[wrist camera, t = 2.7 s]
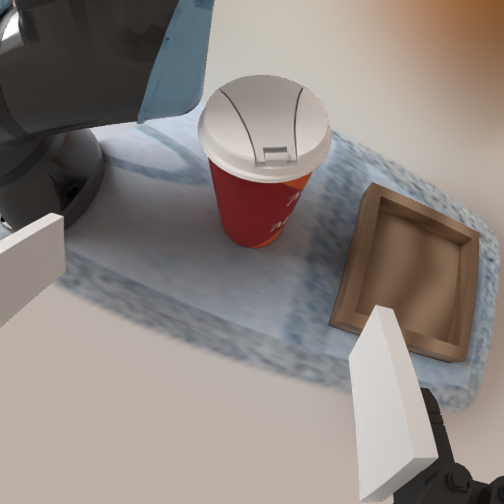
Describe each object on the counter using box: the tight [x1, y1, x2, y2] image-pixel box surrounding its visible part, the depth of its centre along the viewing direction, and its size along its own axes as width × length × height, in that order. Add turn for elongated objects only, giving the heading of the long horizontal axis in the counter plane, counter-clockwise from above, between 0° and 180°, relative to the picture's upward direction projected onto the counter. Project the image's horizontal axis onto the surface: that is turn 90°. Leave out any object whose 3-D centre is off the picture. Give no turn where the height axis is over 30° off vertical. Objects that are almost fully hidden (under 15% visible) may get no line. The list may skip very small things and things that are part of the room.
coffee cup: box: [198, 75, 331, 248], centre depth 24 cm, size 8×8×15 cm
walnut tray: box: [328, 182, 479, 363], centre depth 29 cm, size 14×14×3 cm
